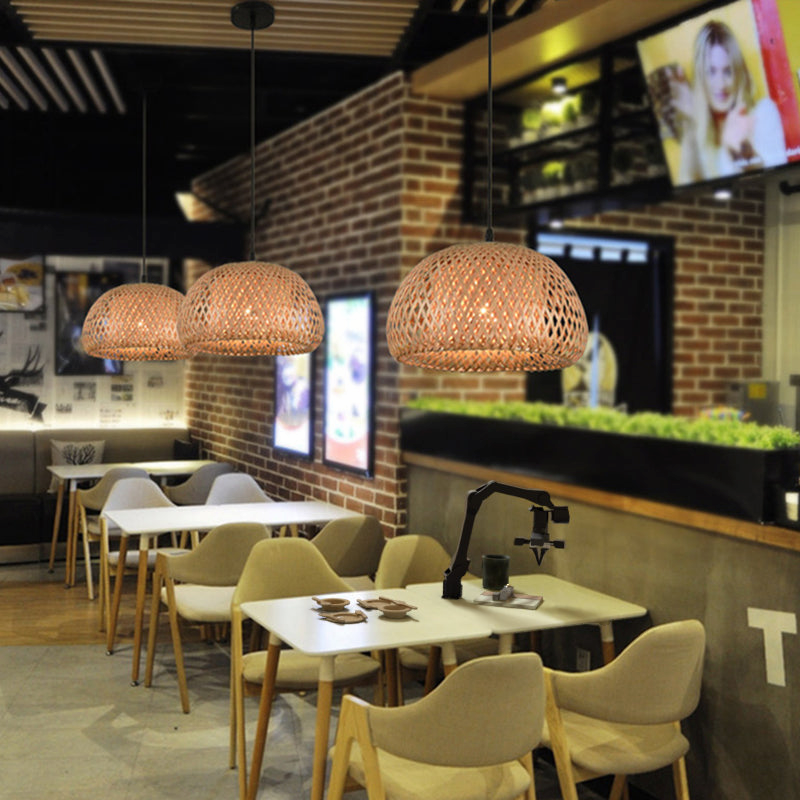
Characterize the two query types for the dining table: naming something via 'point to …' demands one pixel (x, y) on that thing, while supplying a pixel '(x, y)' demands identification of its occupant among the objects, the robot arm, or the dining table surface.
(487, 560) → the mug
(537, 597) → the door mock-up board
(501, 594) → the bar
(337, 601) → the tableware set
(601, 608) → the dining table surface
